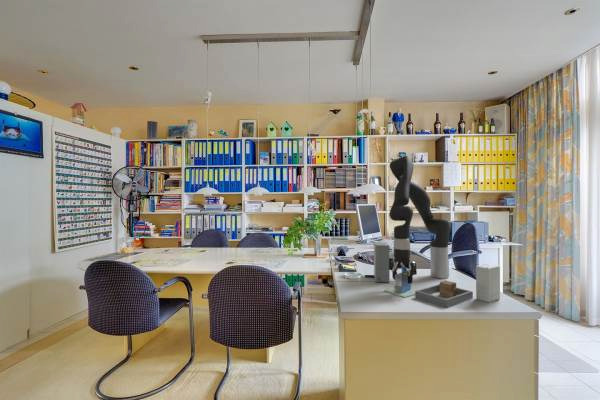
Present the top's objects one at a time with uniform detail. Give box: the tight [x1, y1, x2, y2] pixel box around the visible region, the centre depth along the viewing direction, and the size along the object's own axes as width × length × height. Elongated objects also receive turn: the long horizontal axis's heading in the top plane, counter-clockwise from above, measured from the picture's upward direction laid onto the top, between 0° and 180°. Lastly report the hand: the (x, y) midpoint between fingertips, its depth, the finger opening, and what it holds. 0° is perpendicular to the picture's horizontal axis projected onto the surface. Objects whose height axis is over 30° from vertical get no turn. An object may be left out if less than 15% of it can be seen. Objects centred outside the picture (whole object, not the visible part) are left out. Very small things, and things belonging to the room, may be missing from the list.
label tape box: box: [394, 265, 412, 294], centre depth 140 cm, size 9×4×12 cm, turn 133°
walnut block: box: [439, 280, 457, 298], centre depth 135 cm, size 5×5×6 cm
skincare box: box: [475, 263, 501, 303], centre depth 129 cm, size 8×6×15 cm
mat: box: [383, 286, 417, 298], centre depth 140 cm, size 12×12×1 cm
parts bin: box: [414, 283, 474, 308], centre depth 131 cm, size 20×15×3 cm
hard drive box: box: [373, 241, 391, 283], centre depth 164 cm, size 16×8×20 cm, turn 168°
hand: (402, 281), depth 140 cm, fingers open, 8 cm apart
